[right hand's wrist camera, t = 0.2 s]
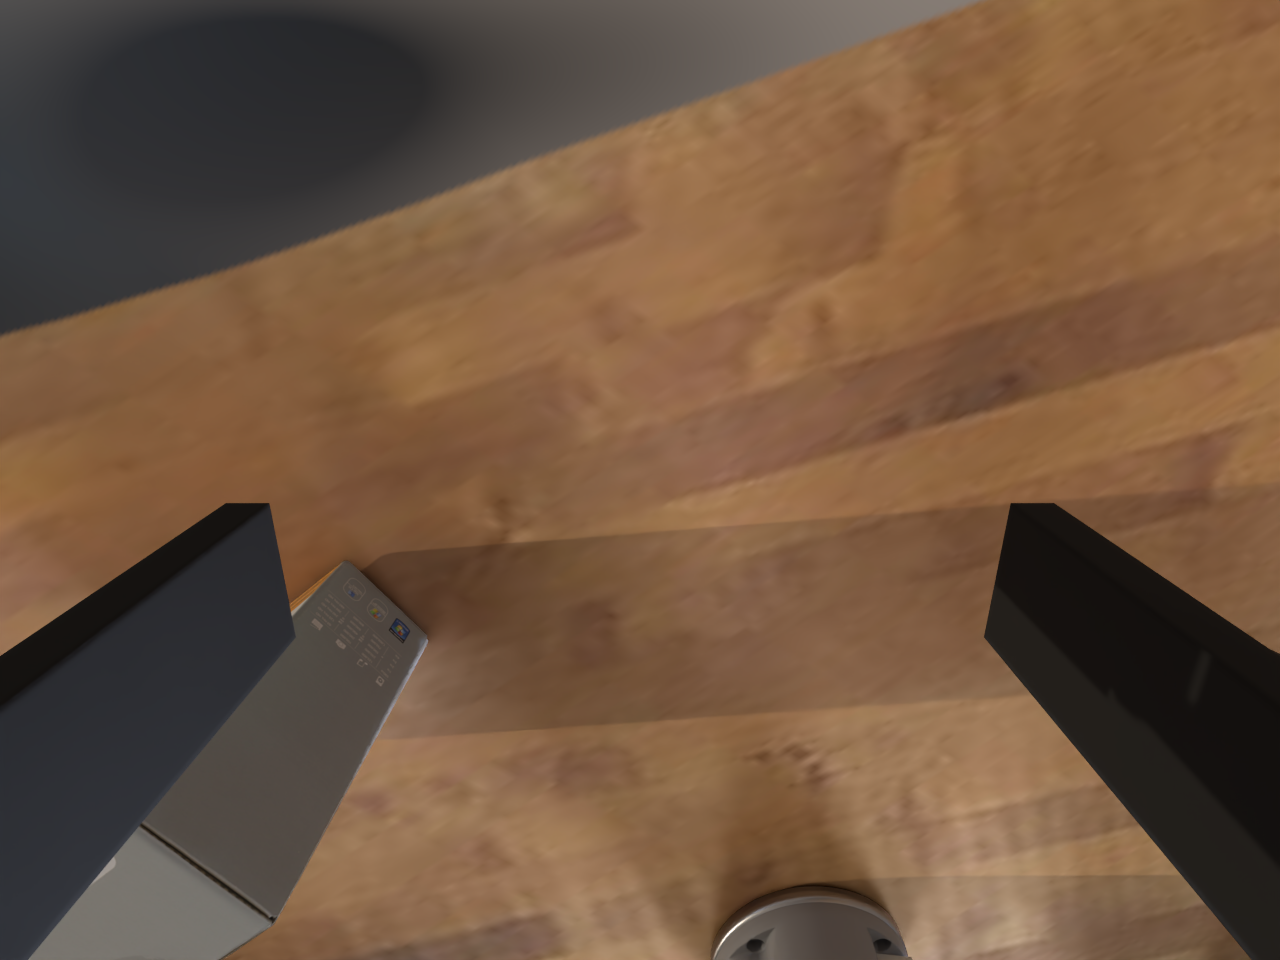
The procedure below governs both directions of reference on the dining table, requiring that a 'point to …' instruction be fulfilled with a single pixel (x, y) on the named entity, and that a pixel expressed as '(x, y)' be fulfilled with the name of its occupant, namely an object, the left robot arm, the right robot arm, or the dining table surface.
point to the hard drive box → (253, 791)
